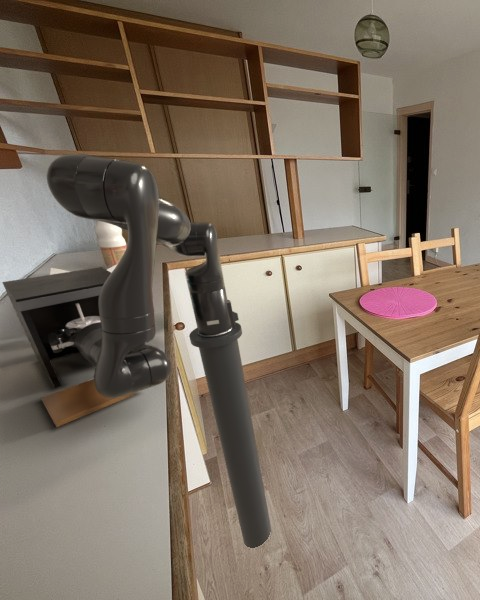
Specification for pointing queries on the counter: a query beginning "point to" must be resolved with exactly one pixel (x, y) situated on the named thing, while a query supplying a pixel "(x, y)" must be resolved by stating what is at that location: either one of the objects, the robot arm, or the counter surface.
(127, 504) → the counter surface
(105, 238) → the fruit juice
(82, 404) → the board
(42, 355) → the shelf
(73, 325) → the smoothie
